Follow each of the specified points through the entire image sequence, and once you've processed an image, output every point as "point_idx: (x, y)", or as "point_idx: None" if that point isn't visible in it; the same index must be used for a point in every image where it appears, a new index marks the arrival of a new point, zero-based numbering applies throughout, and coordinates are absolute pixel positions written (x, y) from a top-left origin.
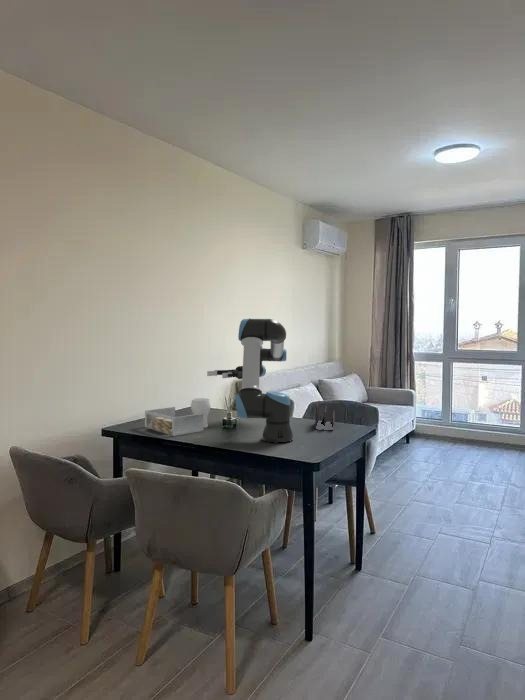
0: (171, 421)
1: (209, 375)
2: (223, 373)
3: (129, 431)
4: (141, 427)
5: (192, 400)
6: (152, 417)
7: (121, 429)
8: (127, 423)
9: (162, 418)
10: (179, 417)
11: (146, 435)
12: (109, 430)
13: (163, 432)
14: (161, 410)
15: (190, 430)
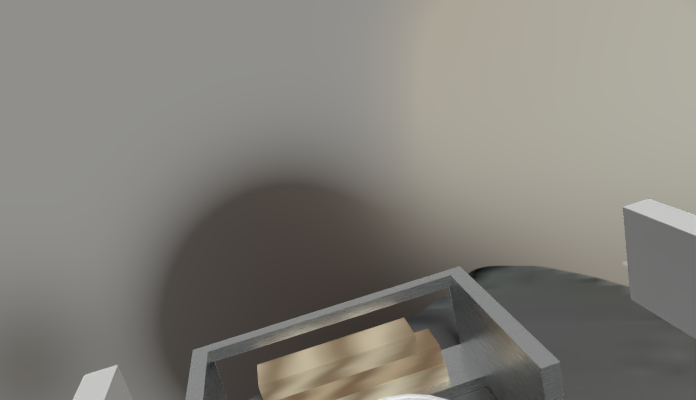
0: (260, 369)
1: (657, 306)
2: (84, 385)
3: (451, 310)
4: None
5: (399, 398)
6: (466, 320)
7: (501, 290)
8: None
9: (360, 342)
10: (190, 369)
11: None
12: (493, 268)
13: None
14: (487, 319)
15: None
